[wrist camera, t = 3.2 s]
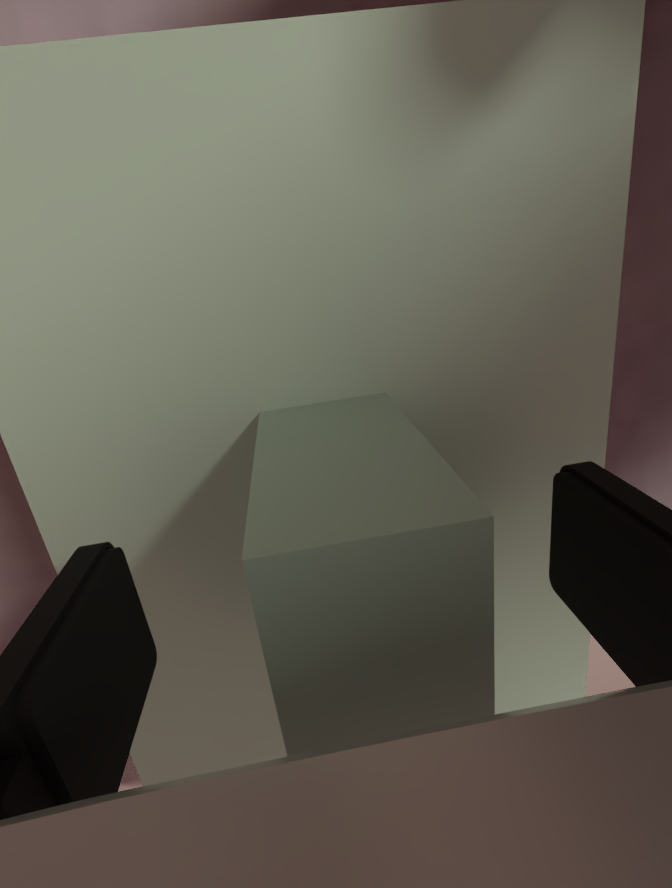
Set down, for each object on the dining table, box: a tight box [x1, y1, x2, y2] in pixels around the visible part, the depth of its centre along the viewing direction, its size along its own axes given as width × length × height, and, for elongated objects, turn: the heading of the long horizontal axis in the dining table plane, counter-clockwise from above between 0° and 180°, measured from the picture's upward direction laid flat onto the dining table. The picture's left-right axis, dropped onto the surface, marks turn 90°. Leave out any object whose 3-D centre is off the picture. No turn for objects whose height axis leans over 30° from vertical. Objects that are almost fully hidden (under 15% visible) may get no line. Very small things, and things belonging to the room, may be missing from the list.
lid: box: [0, 0, 646, 786], centre depth 11 cm, size 14×20×8 cm
